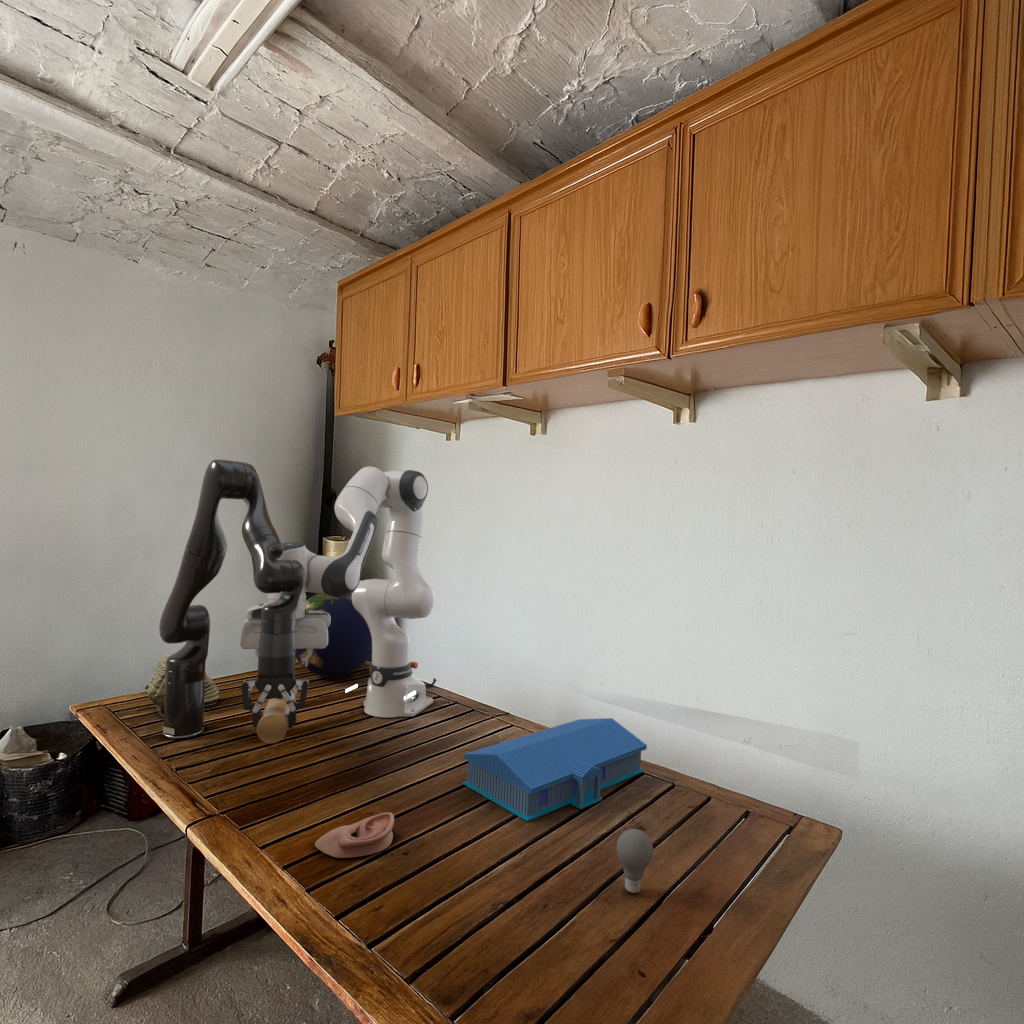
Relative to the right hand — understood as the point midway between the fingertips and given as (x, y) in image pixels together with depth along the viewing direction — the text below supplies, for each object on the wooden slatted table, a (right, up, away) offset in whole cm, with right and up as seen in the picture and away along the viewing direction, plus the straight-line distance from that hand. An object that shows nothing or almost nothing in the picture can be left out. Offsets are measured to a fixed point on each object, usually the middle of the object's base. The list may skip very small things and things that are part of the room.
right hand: (284, 666), depth 154 cm
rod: (+1, -11, -7) cm, 13 cm away
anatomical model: (+26, -24, -37) cm, 51 cm away
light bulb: (+75, -26, -48) cm, 93 cm away
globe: (-8, -20, +69) cm, 72 cm away
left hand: (+3, -10, -15) cm, 18 cm away
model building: (+67, -25, -7) cm, 71 cm away
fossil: (-41, -19, +31) cm, 55 cm away
